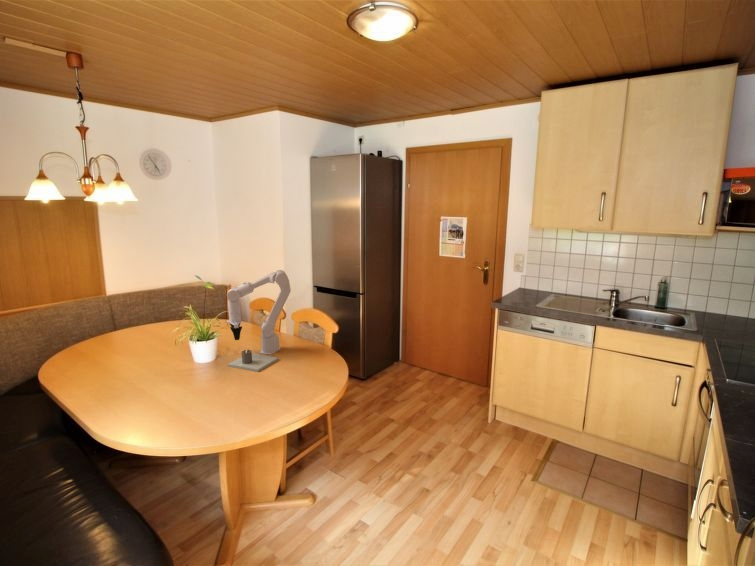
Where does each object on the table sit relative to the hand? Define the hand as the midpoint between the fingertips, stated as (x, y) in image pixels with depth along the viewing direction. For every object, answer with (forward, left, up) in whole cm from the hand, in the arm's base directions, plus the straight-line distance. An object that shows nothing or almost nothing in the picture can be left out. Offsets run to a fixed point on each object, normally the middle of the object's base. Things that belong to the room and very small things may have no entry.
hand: (236, 337), depth 217 cm
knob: (+9, +13, -8) cm, 18 cm away
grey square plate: (+6, +15, -9) cm, 19 cm away
